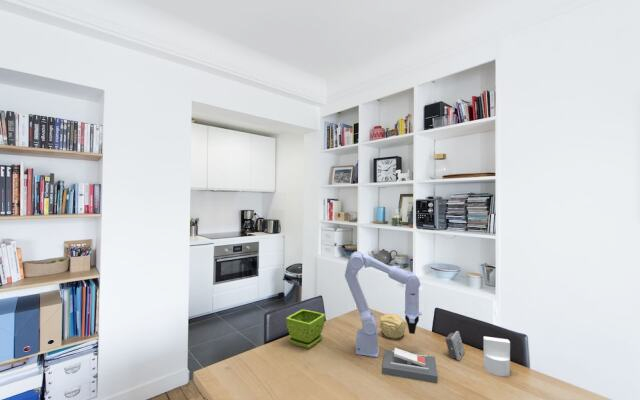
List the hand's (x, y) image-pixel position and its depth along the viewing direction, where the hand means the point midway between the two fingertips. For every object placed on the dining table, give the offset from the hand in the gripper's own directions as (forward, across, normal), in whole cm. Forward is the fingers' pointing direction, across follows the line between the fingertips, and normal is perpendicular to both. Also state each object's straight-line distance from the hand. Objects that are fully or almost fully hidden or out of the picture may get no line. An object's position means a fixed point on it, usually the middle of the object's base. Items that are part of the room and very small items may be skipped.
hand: (411, 333), depth 129 cm
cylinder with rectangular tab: (+10, -2, -32) cm, 33 cm away
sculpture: (+10, +16, +9) cm, 21 cm away
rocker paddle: (+5, -11, +1) cm, 12 cm away
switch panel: (+9, -11, +1) cm, 15 cm away
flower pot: (+10, -3, +48) cm, 49 cm away
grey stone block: (+10, +5, -18) cm, 21 cm away
